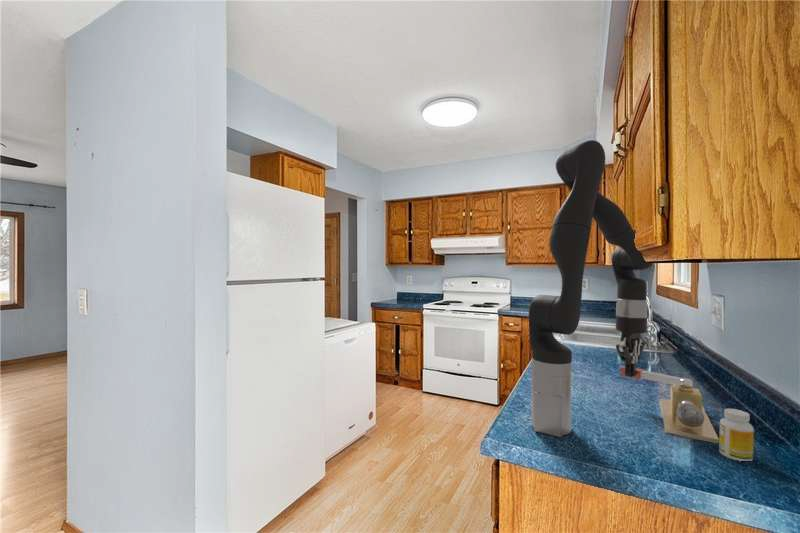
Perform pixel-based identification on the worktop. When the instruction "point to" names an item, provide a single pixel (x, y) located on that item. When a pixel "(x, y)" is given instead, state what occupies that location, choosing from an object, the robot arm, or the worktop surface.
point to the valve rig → (687, 415)
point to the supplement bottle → (736, 435)
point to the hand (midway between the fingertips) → (630, 375)
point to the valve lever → (660, 378)
